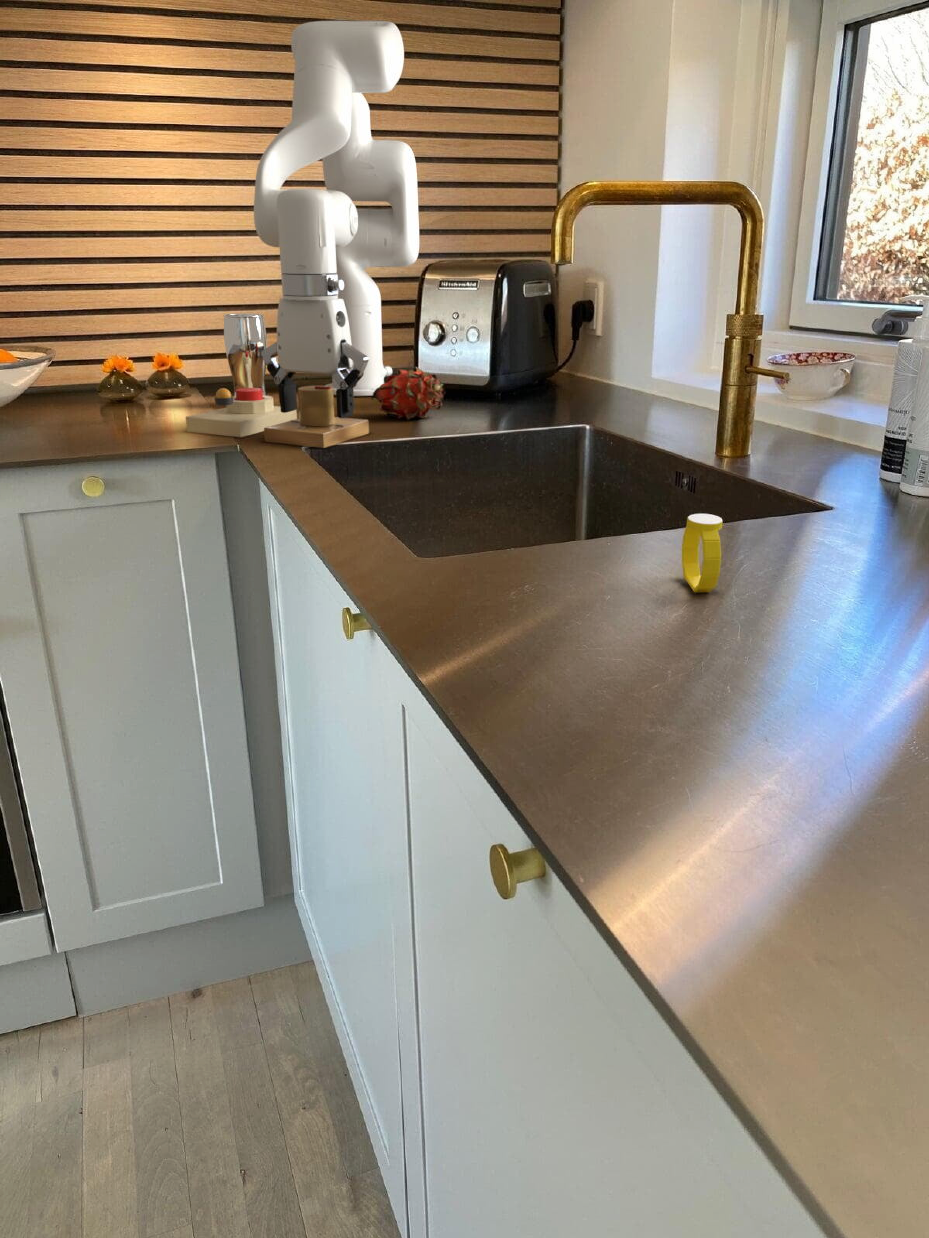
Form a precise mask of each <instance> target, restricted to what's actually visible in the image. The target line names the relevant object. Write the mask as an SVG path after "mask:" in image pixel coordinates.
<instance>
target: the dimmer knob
mask: <svg viewBox="0 0 929 1238" xmlns="http://www.w3.org/2000/svg"><path fill="white" fill-rule="evenodd" d="M334 396H335V395H333V388H332V387H329V386H325V385H305V386H300V387H298V388H297V397H298V398H297V399H298V400H297V403H298V416H299V418H300V424H301V425H304V426H328V425H332V424H334V423H335V417H336V416H335V398H334ZM299 418H298V419H299Z"/></svg>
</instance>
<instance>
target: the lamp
mask: <svg viewBox="0 0 929 1238" xmlns="http://www.w3.org/2000/svg"><path fill="white" fill-rule="evenodd" d="M233 397H234V396H232V393H231V391H230V390H229V389H227V388H225V387H222V388H219V389H218V390H217V391H216V393H215V397H214V404H215V405H216V406H227V405H232V404H233Z"/></svg>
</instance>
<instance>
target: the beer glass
mask: <svg viewBox="0 0 929 1238" xmlns="http://www.w3.org/2000/svg"><path fill="white" fill-rule="evenodd" d="M267 337H268V336H267V330H266V323H265V315H264V313H226V314H224V315H223V339H224V341H223V342H224V347H225V348H224V349H225V353H226V354H225V355H226V359H227V363H228V367H229V370H230V374H231V377H232V384H233V397H234V396H236V389H240V388H261V389H262V392H263V395H264V396H268V394H267V390H266V370H267V365H266V364H265V362H264V359H263V357H262V355H261V352H262V351H263V350H264V349H266V348H268V338H267Z"/></svg>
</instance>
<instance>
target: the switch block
mask: <svg viewBox="0 0 929 1238" xmlns="http://www.w3.org/2000/svg"><path fill="white" fill-rule="evenodd" d="M232 397H233V404H232V405H226V407H223V408H219V409H214V410H210V411H209V410H208V411H206V412H205V411H204V412H202V413H197V414H192V415H188V416H185V423H186V431H187V432H189V433H190V432H191V433H198V434H207V435H216V436H225V437H233V438H234V437H235V438H243V437H247V436H251V435H254V434H258V433H262V432H264V428H265V427H269V426H273V425H276V424H280V423H284V422H288V421H290V420H295V419H298V413H297V409H296V410H294V411H290V412H286V413H282V412H281V408H280V405H279V406H278V405H274V404H275V403H274V397H273V396H270V395H267V396H264V395H263V399H262V400H255V401H239V400H236V396H234V395H233V396H232Z"/></svg>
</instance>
